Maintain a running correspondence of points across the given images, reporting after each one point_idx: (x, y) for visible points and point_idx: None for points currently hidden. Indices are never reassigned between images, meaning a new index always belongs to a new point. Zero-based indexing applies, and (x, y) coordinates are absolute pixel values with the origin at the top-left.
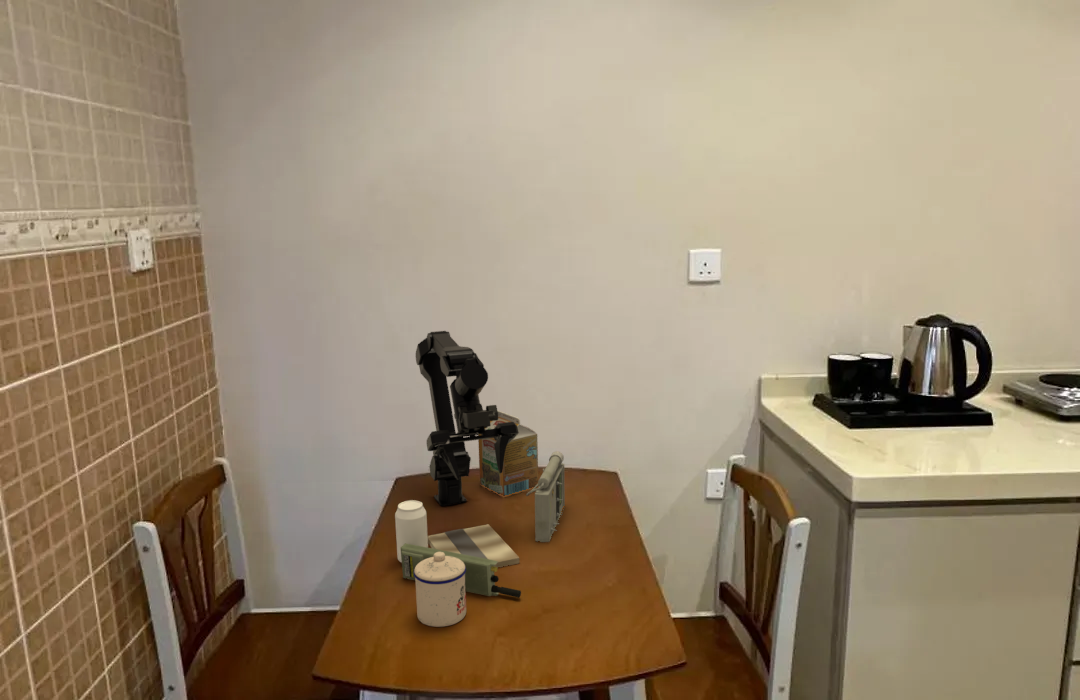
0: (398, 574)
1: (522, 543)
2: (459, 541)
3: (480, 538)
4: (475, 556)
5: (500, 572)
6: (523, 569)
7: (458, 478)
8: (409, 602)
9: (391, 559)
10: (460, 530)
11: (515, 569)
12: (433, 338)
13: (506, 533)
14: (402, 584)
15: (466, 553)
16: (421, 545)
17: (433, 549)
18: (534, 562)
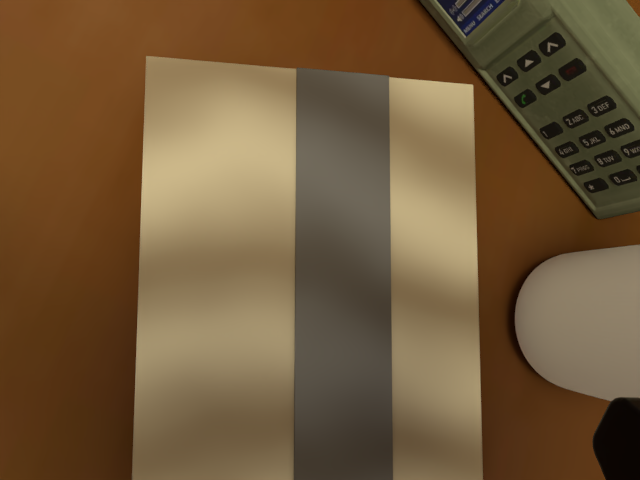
0: (634, 225)
1: (33, 264)
2: (359, 361)
3: (244, 359)
4: (340, 165)
5: (265, 34)
6: (158, 6)
7: (622, 398)
8: (636, 3)
9: None
10: None
11: (192, 25)
12: None
13: (60, 426)
14: None
15: (368, 216)
16: (604, 252)
17: (626, 50)
18: (76, 40)
